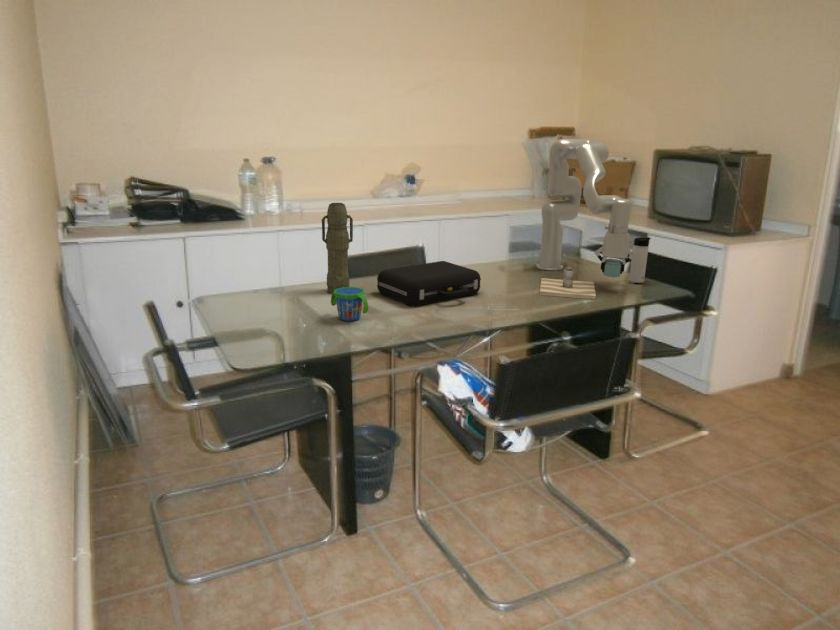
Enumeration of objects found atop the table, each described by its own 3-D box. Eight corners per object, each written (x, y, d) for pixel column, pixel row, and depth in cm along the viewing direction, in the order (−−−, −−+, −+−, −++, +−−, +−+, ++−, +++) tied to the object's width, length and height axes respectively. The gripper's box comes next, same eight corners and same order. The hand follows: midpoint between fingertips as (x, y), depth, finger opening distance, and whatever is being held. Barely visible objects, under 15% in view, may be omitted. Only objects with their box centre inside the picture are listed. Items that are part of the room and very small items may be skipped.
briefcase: (422, 313, 237) (422, 287, 234) (373, 293, 261) (373, 269, 258) (494, 298, 259) (495, 274, 256) (443, 281, 282) (444, 258, 279)
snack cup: (323, 316, 231) (322, 288, 227) (346, 310, 238) (345, 283, 235) (353, 327, 221) (352, 298, 217) (375, 320, 228) (375, 292, 225)
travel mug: (646, 284, 284) (652, 239, 278) (631, 284, 284) (636, 238, 278) (642, 280, 290) (647, 236, 284) (627, 280, 290) (632, 235, 284)
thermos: (320, 289, 264) (319, 202, 253) (349, 287, 268) (348, 201, 257) (326, 295, 256) (324, 205, 245) (355, 293, 260) (354, 204, 249)
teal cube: (602, 271, 275) (604, 258, 273) (618, 273, 274) (621, 259, 272) (603, 276, 269) (605, 262, 267) (620, 277, 268) (622, 263, 266)
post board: (541, 281, 284) (542, 260, 282) (593, 285, 280) (595, 263, 277) (539, 295, 264) (541, 272, 261) (595, 299, 260) (598, 276, 257)
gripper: (596, 229, 263) (590, 272, 269) (641, 233, 260) (634, 276, 266) (595, 226, 270) (590, 267, 276) (639, 229, 267) (632, 271, 273)
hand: (611, 271), depth 271 cm, fingers closed on teal cube, 6 cm apart
